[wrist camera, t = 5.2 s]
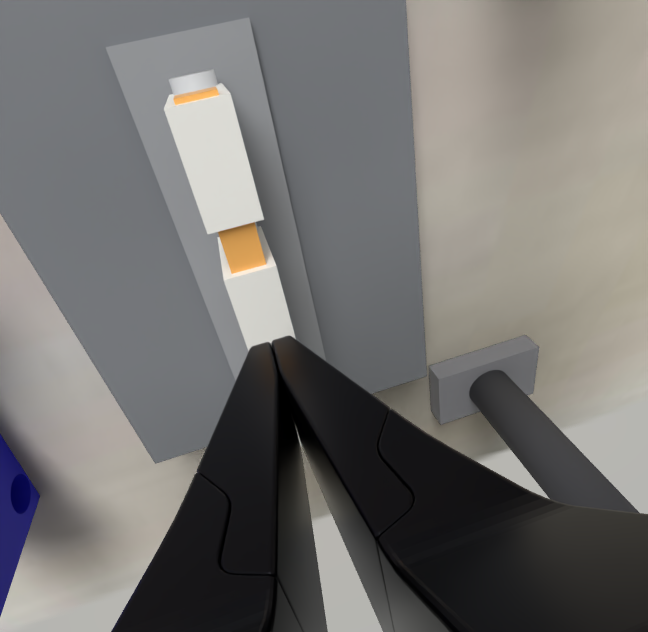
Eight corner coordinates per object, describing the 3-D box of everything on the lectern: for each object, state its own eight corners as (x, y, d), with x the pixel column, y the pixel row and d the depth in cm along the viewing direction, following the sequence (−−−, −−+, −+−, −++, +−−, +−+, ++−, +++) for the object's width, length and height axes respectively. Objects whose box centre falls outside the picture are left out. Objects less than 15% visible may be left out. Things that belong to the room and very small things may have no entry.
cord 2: (525, 334, 21) (743, 523, 13) (520, 380, 23) (709, 573, 14) (428, 365, 20) (590, 584, 12) (431, 410, 22) (575, 629, 14)
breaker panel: (371, -63, 12) (406, -84, 10) (406, 347, 19) (430, 380, 17) (-71, 22, 10) (-130, 17, 8) (158, 425, 18) (154, 470, 16)
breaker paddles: (216, 67, 10) (225, 75, 8) (303, 384, 16) (324, 445, 13) (164, 78, 10) (157, 90, 8) (270, 394, 15) (285, 458, 13)
